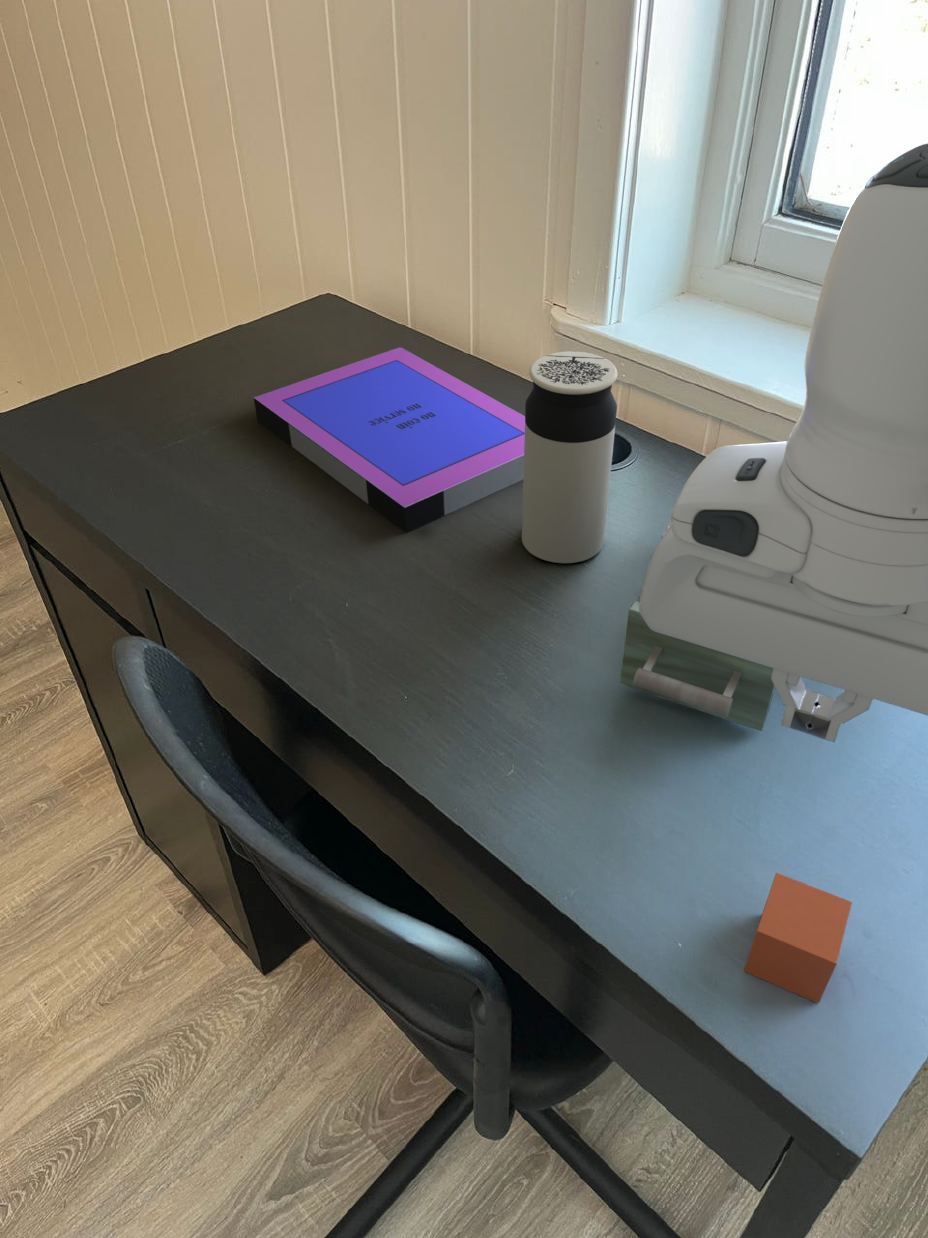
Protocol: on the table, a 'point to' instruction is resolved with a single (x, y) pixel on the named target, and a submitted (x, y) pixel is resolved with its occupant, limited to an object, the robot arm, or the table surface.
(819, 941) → the block
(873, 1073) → the table surface
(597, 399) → the travel mug
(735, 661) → the drawer
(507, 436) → the book
